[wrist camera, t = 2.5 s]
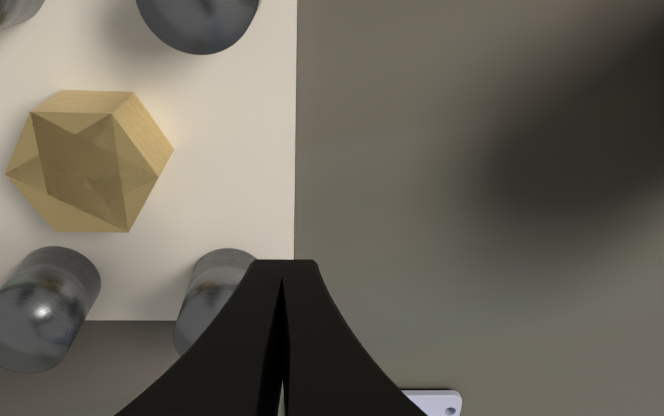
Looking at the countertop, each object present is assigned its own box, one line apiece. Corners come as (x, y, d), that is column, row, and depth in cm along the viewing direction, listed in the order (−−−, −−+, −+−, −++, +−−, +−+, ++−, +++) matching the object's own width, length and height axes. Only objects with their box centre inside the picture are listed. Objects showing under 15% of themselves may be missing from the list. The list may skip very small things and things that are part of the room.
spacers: (268, 320, 23) (263, 383, 20) (-97, 318, 22) (-165, 384, 19) (263, -91, 16) (254, -96, 13) (-267, -118, 15) (-418, -129, 12)
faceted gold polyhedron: (179, 200, 20) (164, 233, 18) (49, 198, 20) (18, 231, 18) (169, 92, 18) (151, 114, 16) (26, 88, 18) (-12, 110, 16)
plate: (293, 309, 24) (292, 321, 23) (-98, 307, 22) (-112, 319, 22) (298, -89, 17) (298, -89, 16) (-262, -117, 16) (-288, -119, 15)
